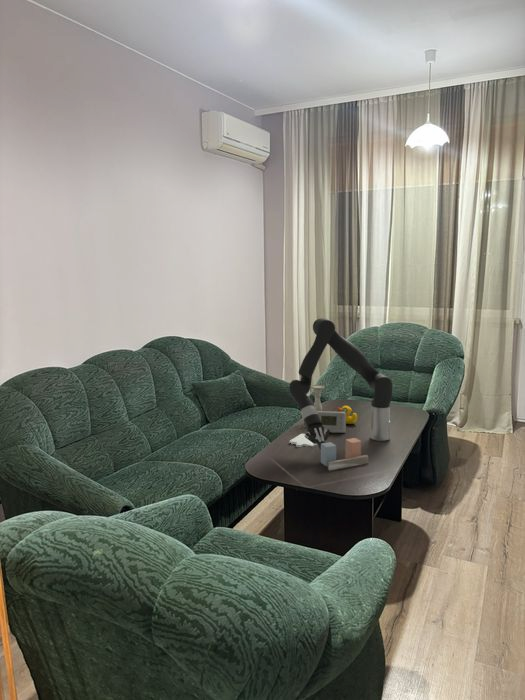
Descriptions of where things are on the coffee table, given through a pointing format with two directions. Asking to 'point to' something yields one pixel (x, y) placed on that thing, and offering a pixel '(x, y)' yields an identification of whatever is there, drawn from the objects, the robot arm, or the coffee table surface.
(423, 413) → the coffee table surface
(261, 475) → the coffee table surface
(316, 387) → the candle holder
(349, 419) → the duckling
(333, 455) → the grey blue rectangular block
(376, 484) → the coffee table surface
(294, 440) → the mounting plate
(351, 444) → the reddish brown block
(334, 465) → the wooden tray
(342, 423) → the digital clock
